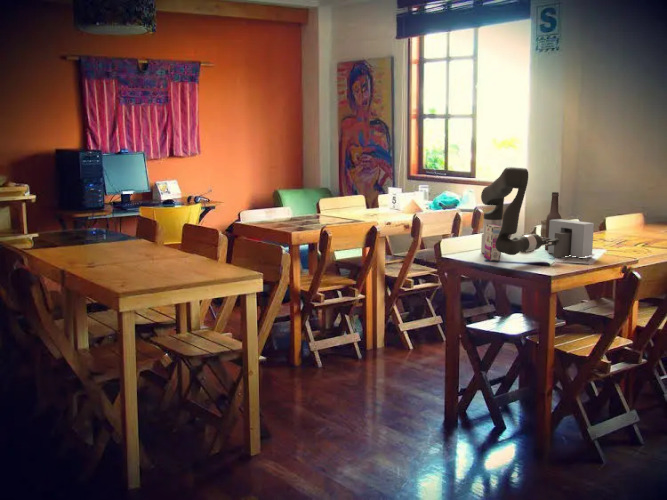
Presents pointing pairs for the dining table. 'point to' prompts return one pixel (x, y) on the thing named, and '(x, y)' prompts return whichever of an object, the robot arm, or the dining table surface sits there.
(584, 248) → the socket
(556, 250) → the plug
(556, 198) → the beer bottle
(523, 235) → the electrical switch
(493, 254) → the candy bar box
